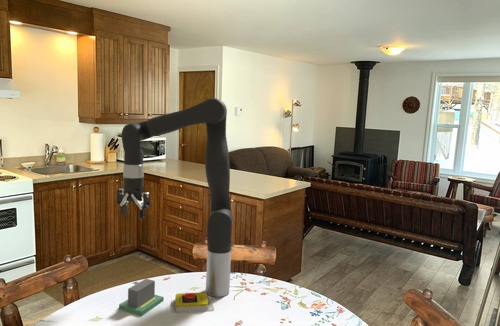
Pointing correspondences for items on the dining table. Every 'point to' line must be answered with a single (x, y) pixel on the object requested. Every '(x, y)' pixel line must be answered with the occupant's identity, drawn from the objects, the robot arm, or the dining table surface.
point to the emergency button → (191, 303)
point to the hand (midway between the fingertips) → (132, 216)
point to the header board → (144, 307)
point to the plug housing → (141, 293)
